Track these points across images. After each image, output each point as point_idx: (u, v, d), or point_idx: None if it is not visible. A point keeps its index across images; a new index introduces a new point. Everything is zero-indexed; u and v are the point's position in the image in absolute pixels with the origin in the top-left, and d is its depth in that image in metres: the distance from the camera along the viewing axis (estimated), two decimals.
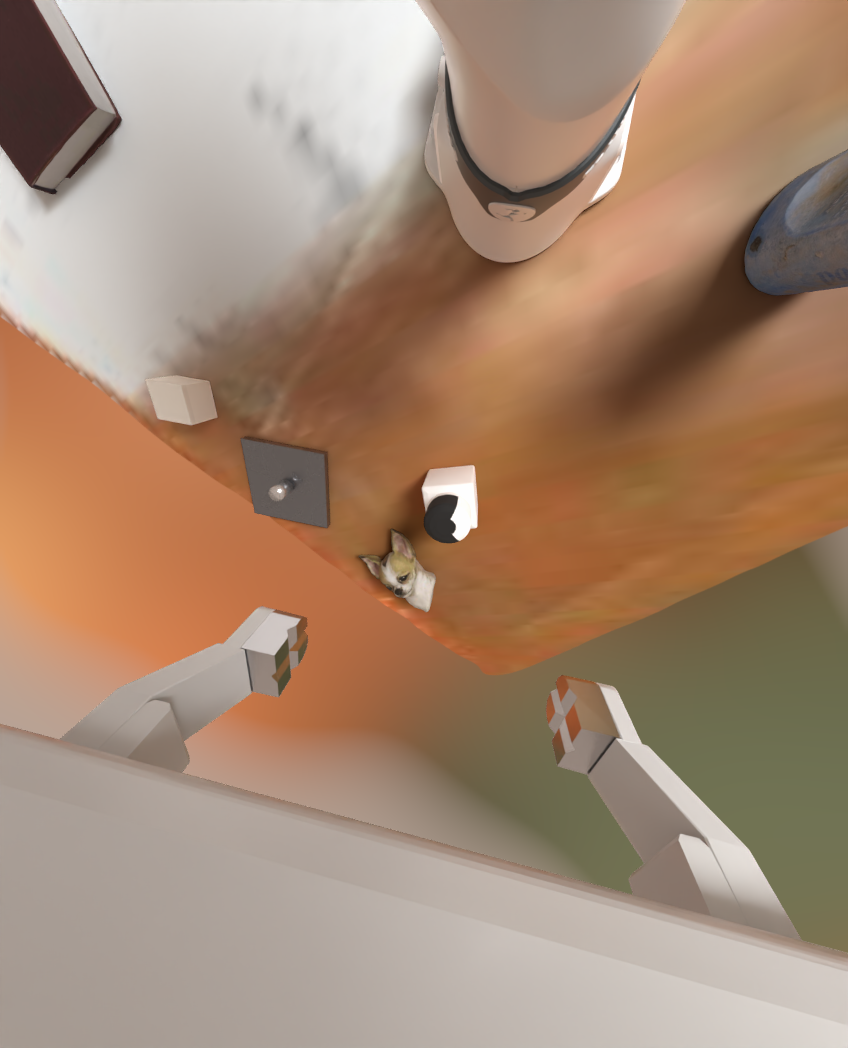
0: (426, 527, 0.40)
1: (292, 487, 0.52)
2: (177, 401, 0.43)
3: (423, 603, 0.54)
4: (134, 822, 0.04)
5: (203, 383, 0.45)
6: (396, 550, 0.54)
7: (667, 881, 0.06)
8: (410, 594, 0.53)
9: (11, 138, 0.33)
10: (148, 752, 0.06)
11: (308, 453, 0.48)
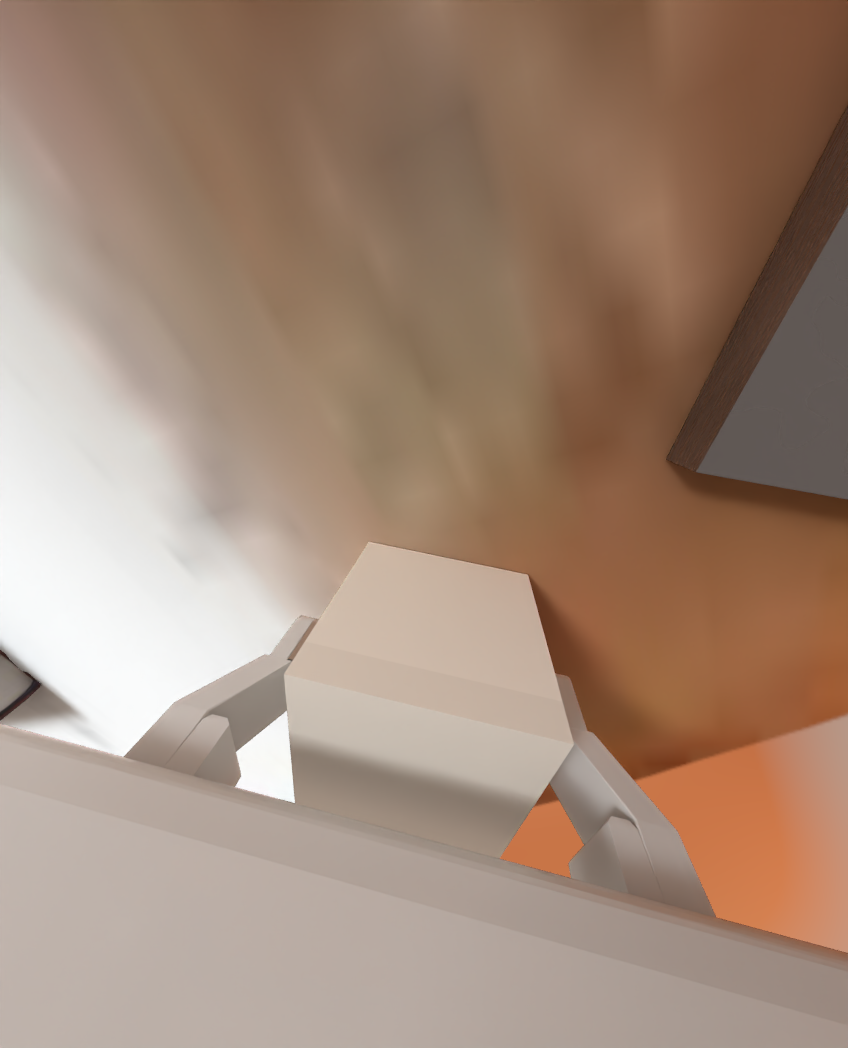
0: None
1: None
2: (393, 739, 0.06)
3: None
4: (134, 822, 0.04)
5: (362, 562, 0.09)
6: None
7: (597, 862, 0.06)
8: None
9: None
10: (210, 768, 0.06)
11: None
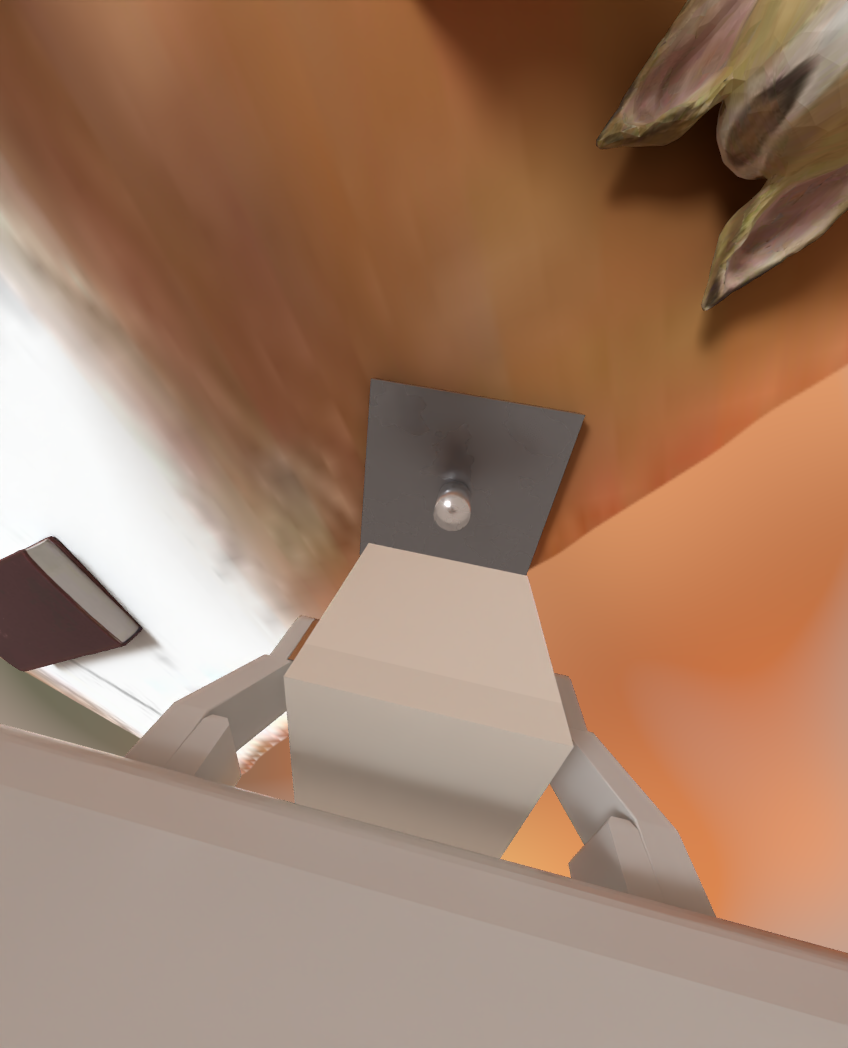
0: None
1: (456, 482, 0.22)
2: (393, 741, 0.06)
3: None
4: (134, 822, 0.04)
5: (362, 564, 0.09)
6: (717, 77, 0.12)
7: (597, 862, 0.06)
8: None
9: (91, 639, 0.35)
10: (210, 768, 0.06)
11: (373, 420, 0.21)
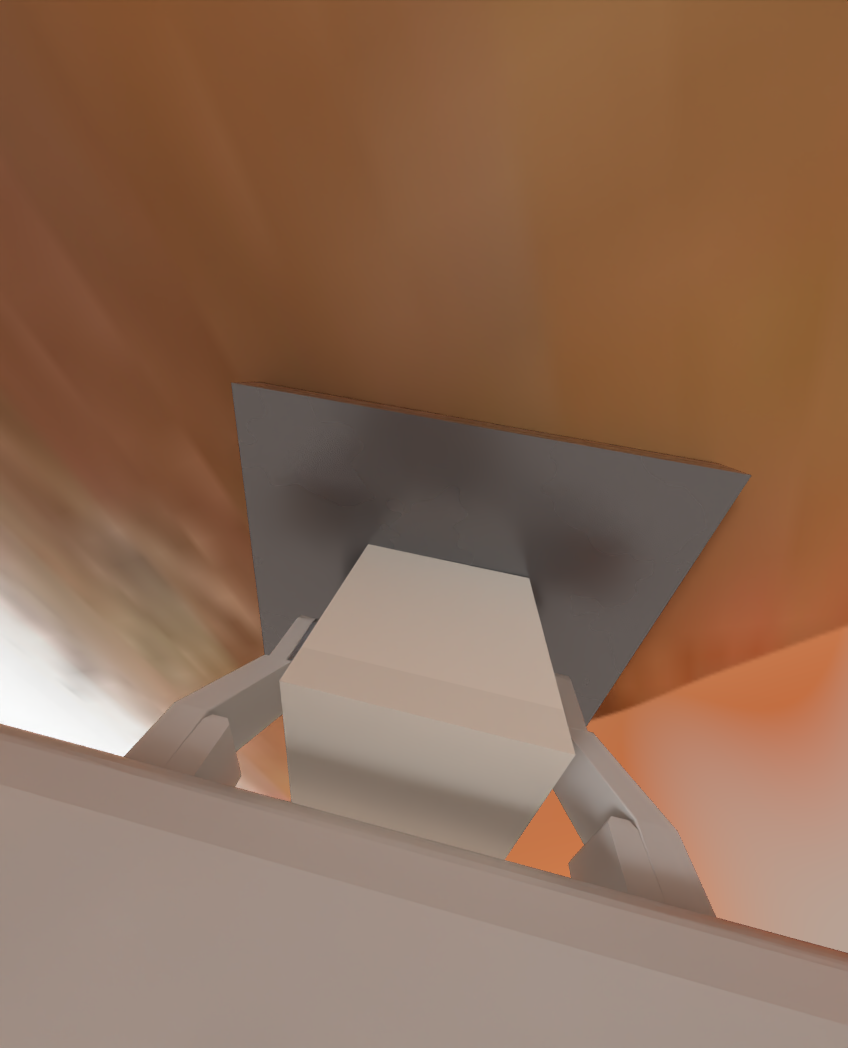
0: None
1: None
2: (390, 747, 0.06)
3: None
4: (134, 822, 0.04)
5: (361, 565, 0.09)
6: None
7: (597, 862, 0.06)
8: None
9: None
10: (210, 768, 0.06)
11: (252, 473, 0.10)
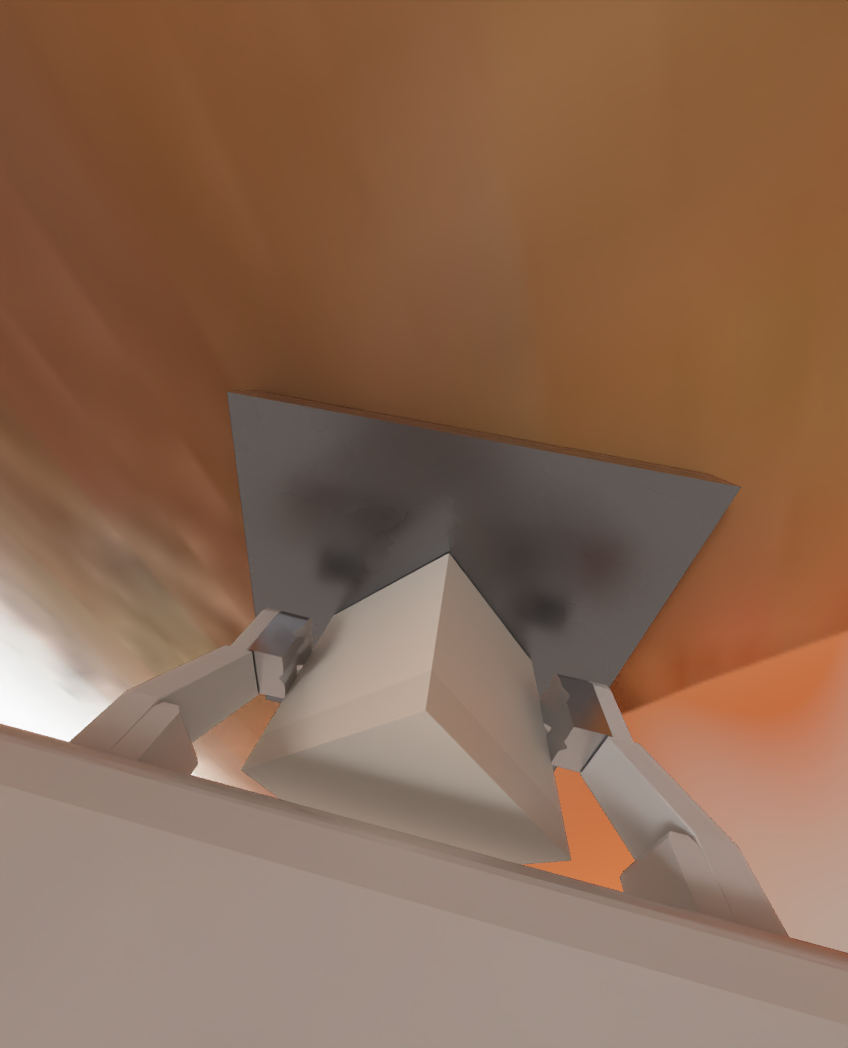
0: None
1: None
2: (442, 791, 0.06)
3: None
4: (134, 822, 0.04)
5: (449, 580, 0.09)
6: None
7: (657, 878, 0.06)
8: None
9: None
10: (158, 754, 0.06)
11: (248, 480, 0.10)
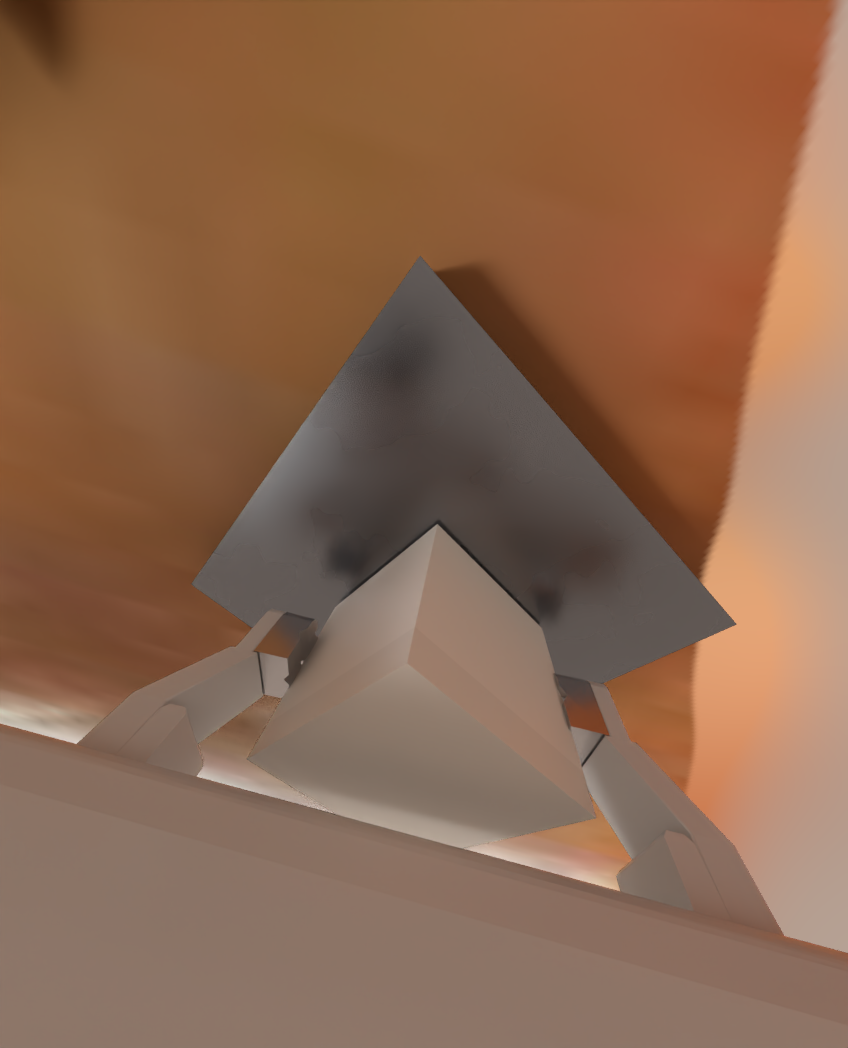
0: None
1: None
2: (446, 755, 0.06)
3: None
4: (134, 822, 0.04)
5: (437, 548, 0.08)
6: None
7: (653, 877, 0.06)
8: None
9: None
10: (164, 756, 0.06)
11: (247, 618, 0.13)
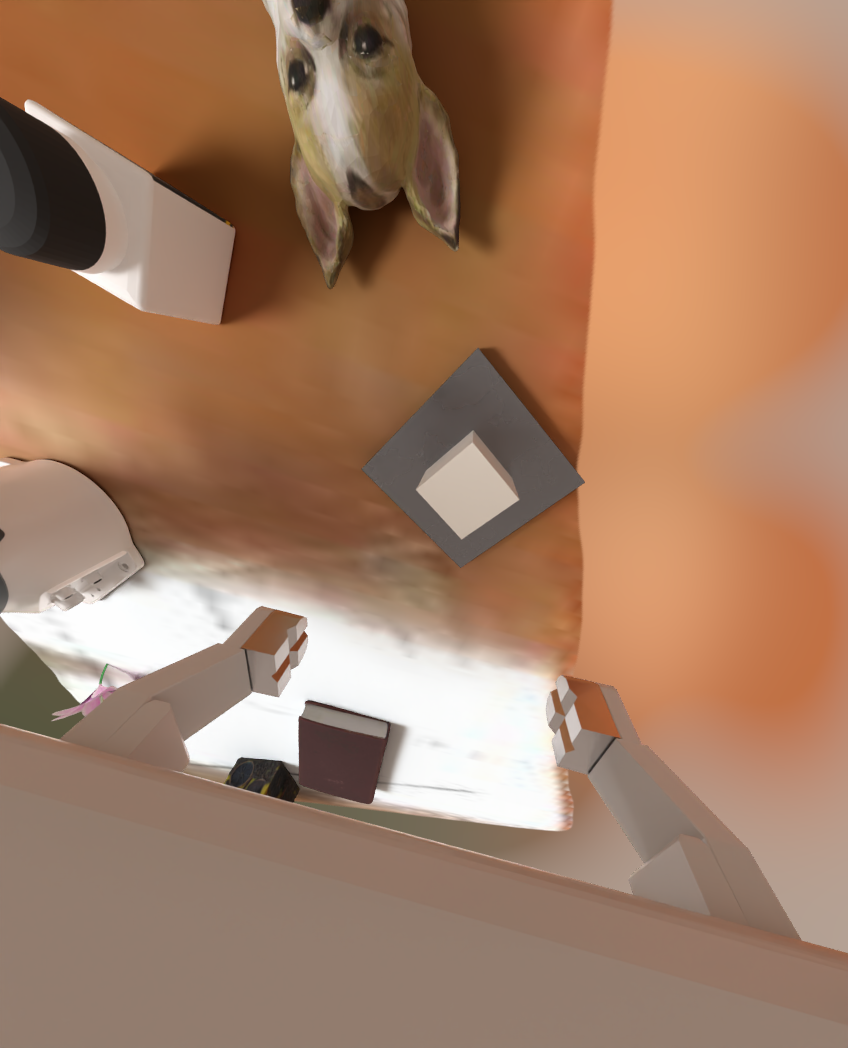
0: (32, 198, 0.14)
1: None
2: (478, 477, 0.22)
3: None
4: (134, 822, 0.04)
5: (474, 434, 0.24)
6: (335, 209, 0.19)
7: (667, 881, 0.06)
8: None
9: (370, 748, 0.47)
10: (148, 752, 0.06)
11: (383, 486, 0.29)
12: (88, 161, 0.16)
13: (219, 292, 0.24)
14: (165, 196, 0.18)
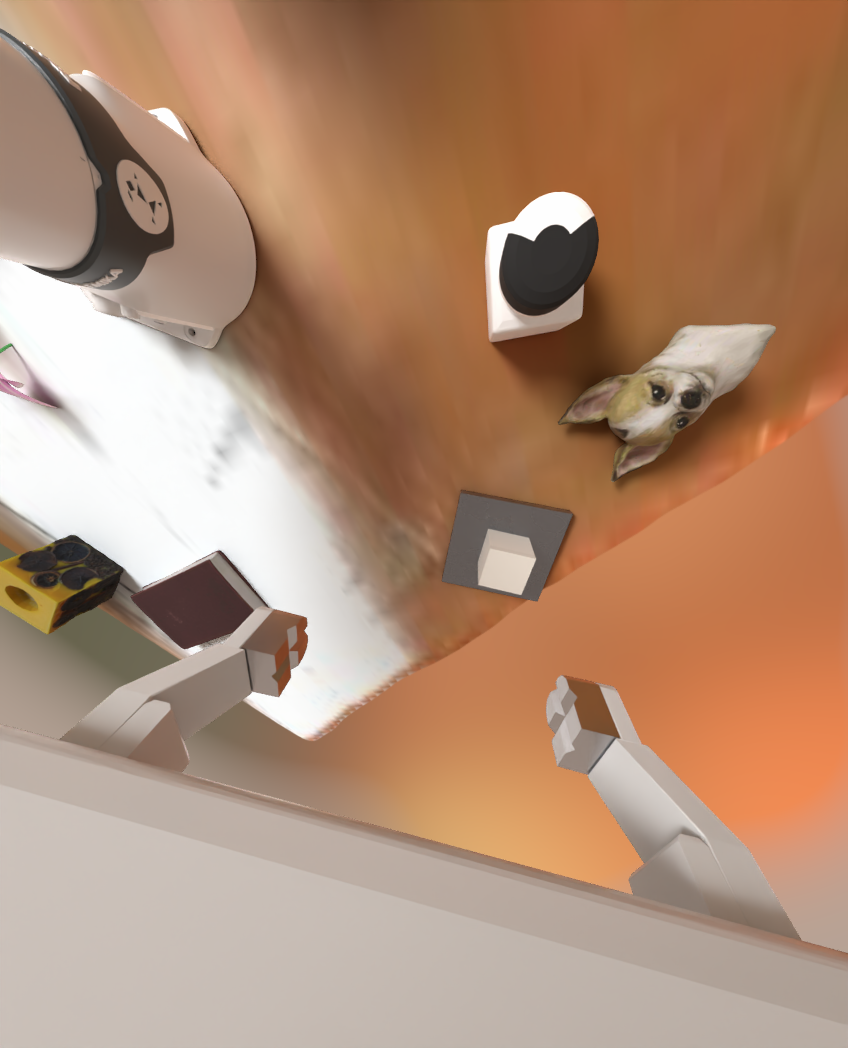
0: (551, 301, 0.21)
1: None
2: (519, 572, 0.36)
3: (744, 342, 0.24)
4: (134, 822, 0.04)
5: None
6: (602, 412, 0.31)
7: (667, 881, 0.06)
8: (707, 374, 0.25)
9: (242, 618, 0.52)
10: (148, 752, 0.06)
11: (459, 511, 0.40)
12: None
13: (514, 337, 0.31)
14: (571, 321, 0.26)
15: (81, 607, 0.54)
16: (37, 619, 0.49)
